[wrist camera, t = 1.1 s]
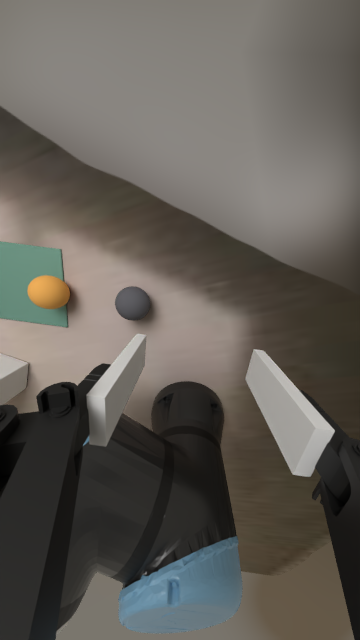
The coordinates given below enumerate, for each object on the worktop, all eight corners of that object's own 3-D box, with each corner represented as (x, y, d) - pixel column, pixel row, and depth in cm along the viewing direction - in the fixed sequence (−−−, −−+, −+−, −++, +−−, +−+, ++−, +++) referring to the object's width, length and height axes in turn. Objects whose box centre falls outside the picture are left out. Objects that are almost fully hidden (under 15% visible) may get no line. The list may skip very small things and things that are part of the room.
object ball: (78, 307, 31) (55, 315, 26) (49, 303, 31) (20, 310, 26) (75, 276, 29) (50, 278, 24) (45, 272, 29) (14, 273, 24)
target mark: (68, 326, 32) (67, 327, 32) (-2, 317, 32) (-3, 317, 32) (61, 249, 28) (60, 249, 28) (-20, 239, 28) (-21, 238, 28)
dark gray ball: (152, 317, 31) (144, 327, 25) (123, 313, 31) (109, 322, 25) (154, 287, 29) (146, 291, 24) (123, 283, 29) (108, 286, 24)
